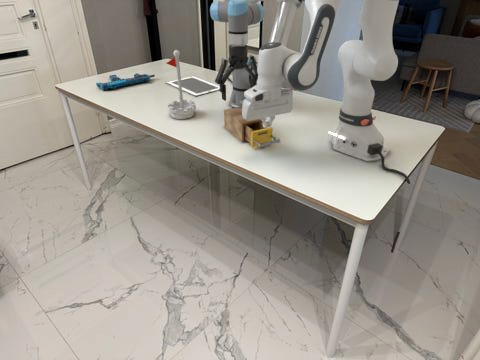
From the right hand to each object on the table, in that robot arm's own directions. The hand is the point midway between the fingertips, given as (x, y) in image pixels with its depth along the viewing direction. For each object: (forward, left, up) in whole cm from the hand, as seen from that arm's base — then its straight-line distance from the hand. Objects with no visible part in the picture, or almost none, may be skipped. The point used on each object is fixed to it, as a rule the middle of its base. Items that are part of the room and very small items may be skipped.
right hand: (267, 126), depth 129 cm
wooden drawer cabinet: (+19, -3, -10) cm, 22 cm away
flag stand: (+52, +9, -10) cm, 54 cm away
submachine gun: (+120, +13, -10) cm, 122 cm away
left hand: (+24, -4, +4) cm, 24 cm away
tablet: (+88, -18, -10) cm, 91 cm away
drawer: (+8, -1, -9) cm, 12 cm away
